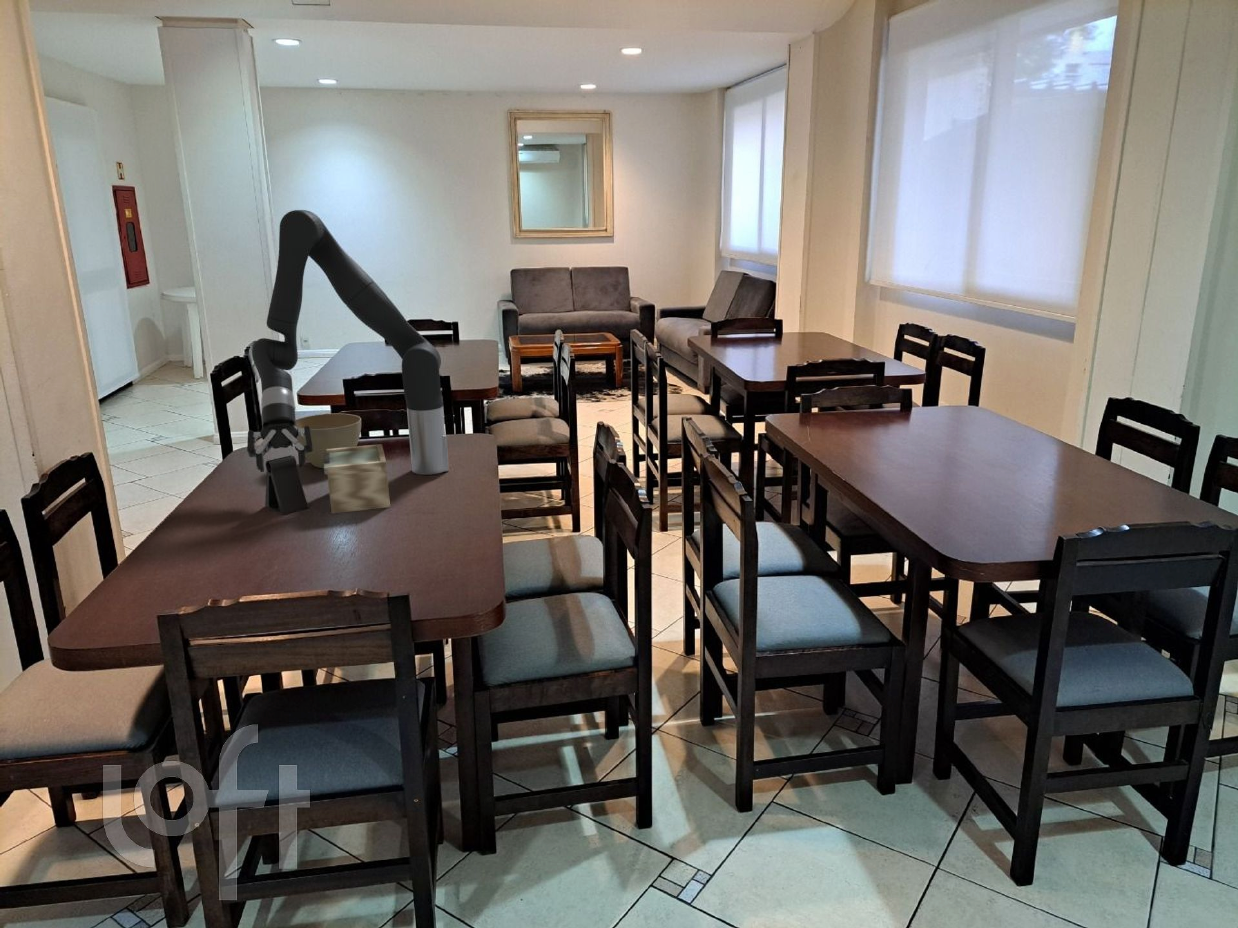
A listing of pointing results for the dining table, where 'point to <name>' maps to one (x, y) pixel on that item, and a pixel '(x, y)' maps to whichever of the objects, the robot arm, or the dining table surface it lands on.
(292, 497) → the phone stand
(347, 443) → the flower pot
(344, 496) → the bread box
